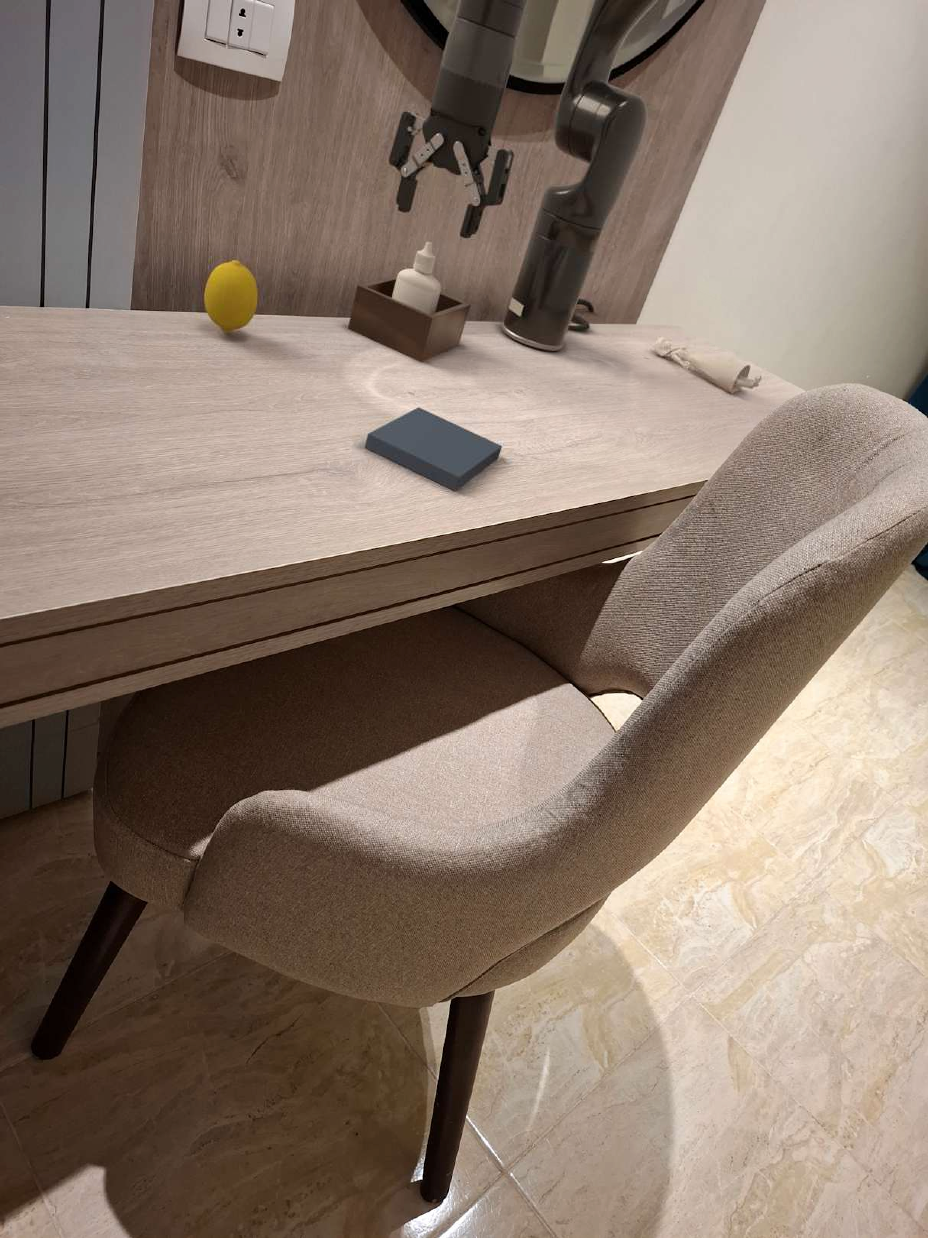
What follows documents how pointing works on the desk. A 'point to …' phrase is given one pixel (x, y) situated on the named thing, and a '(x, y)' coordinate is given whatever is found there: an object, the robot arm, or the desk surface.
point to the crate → (407, 321)
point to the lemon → (231, 296)
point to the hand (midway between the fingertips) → (434, 223)
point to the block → (434, 447)
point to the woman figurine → (710, 367)
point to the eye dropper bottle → (419, 283)
